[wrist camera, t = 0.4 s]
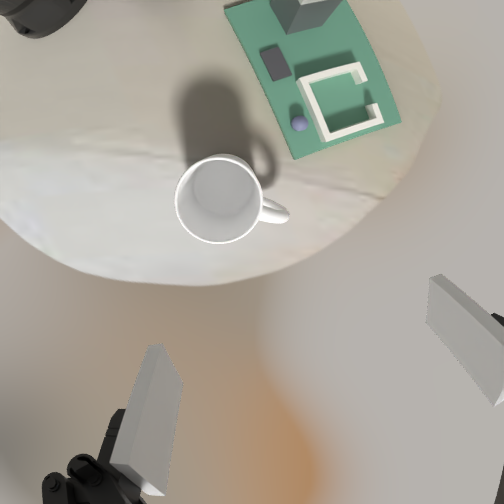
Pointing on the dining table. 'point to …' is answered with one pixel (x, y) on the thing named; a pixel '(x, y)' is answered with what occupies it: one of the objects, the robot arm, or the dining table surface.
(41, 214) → the dining table surface
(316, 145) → the board
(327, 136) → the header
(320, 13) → the plug
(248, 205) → the mug
